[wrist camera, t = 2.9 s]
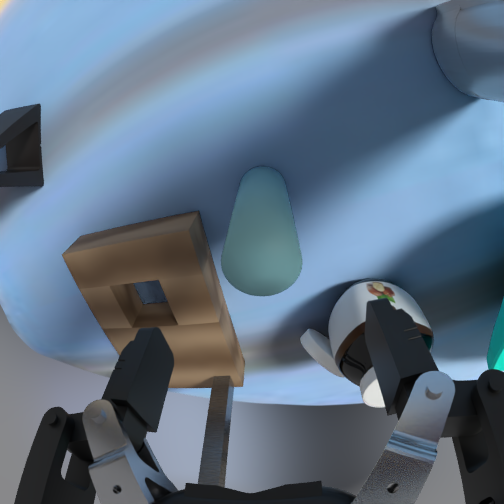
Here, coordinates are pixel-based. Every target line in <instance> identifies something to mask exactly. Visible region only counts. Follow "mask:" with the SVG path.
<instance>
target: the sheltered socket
mask: <svg viewBox="0 0 504 504" xmlns="http://www.w3.org/2000/svg"><path fill="white" fill-rule="evenodd" d="M62 256H63V258H64V260H65V262H66V264H67V266H68V268H69V270H70V272H71V274H72V276H73V278H74V280H75V282H76V284H77V286H78V288H79V290H80V292H81V293H82V295H83V297H84V299H85V301H86V302H87V304H88V306H89V308H90V309H91V311H92V313H93V314H94V316H95V318H96V319H97V321H98V323H99V324H100V326H101V328H102V329H103V331H104V332H105V334H106V336H107V337H108V339H109V340H110V342H111V343H112V345H113V346H114V348H115V349H116V351H117V352H118V354H119V355H120V354H121V352H122V350H123V349H124V348H125V346H126V345H127V344H128V343H129V342H130V341H134V339H135V336H136V334H137V332H138V330H139V329H140V328H149V327H158V328H159V329H160V330H161V332H162V334H163V335H164V337H165V339H166V341H167V343H168V345H169V347H170V349H171V350H172V352H173V356H174V368H173V371H172V375H171V379H170V382H169V386H168V388H212V390H211V396H210V404H209V410H208V416H207V423H206V430H205V437H204V443H203V451H202V458H201V465H200V472H199V479H198V484H204V485H217V486H221V487H225V476H226V465H227V454H228V443H229V433H230V422H231V412H232V401H233V391H234V387H242V386H243V381H244V367H245V361H244V358H243V355H242V352H241V349H240V346H239V343H238V340H237V336H236V333H235V330H234V327H233V324H232V321H231V318H230V315H229V312H228V308H227V305H226V302H225V299H224V296H223V292H222V289H221V286H220V282H219V279H218V276H217V273H216V269H215V266H214V262H213V259H212V256H211V252H210V249H209V245H208V242H207V238H206V235H205V231H204V228H203V224H202V221H201V217H200V214H199V211H195V212H190V213H184V214H179V215H174V216H169V217H164V218H159V219H154V220H149V221H145V222H140V223H135V224H131V225H126V226H122V227H117V228H113V229H108V230H104V231H100V232H95V233H91V234H87V235H83V236H80V237H79V238H78V239H77V240H76V241H75V242H74V243H73V244H72V245H71V246H70V247H69V248H68V249H67V250H66V251H65V252H64V253H63V254H62ZM154 280H159V282H160V284H161V287H162V289H163V291H164V294H165V296H166V298H167V301H168V302H162V303H151V304H143V303H142V301H141V299H140V297H139V295H138V293H137V290H136V288H135V286H134V284H133V283H137V282H146V281H154ZM146 434H147V431H146ZM146 434H145V437H144V438H146Z"/></svg>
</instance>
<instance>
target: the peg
mask: <svg viewBox="0 0 504 504" xmlns="http://www.w3.org/2000/svg"><path fill="white" fill-rule="evenodd" d="M221 266H222V271H223V273H224V275H225V277H226V279H227V280H228V281H229V283H230V284H231V285H232V286H234V287H235V288H236V289H238V290H239V291H241V292H244V293H246V294H249V295H254V296H270V295H274V294H278V293H280V292H282V291H284V290H286V289H287V288H289V287H290V286H291V285H292V284H293V283H294V282H295V281H296V280H297V278H298V276H299V274H300V272H301V269H302V255H301V250H300V246H299V241H298V236H297V232H296V227H295V223H294V218H293V214H292V209H291V205H290V201H289V196H288V192H287V188H286V184H285V181H284V178H283V177H282V175H281V174H280V173H279V172H278V171H276V170H275V169H273V168H270V167H266V166H260V167H255V168H252V169H251V170H249V171H248V172H246V173H245V175H244V176H243V177H242V179H241V182H240V185H239V189H238V193H237V197H236V201H235V204H234V208H233V212H232V216H231V220H230V224H229V228H228V232H227V236H226V240H225V244H224V248H223V252H222V257H221Z"/></svg>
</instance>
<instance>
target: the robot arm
mask: <svg viewBox="0 0 504 504" xmlns="http://www.w3.org/2000/svg"><path fill="white" fill-rule="evenodd" d="M436 9H437V18H436V20H435V22H434V24H433V28H432V44H433V50H434V53H435V56H436V59H437V61H438V63H439V65H440V68H441V70H442V71H443V73H444V74H445V76H446V77H447V79H448V80H449V81H450V82H451V83H452V84H453V85H454V86H455V87H456V88H457V89H458V90H460V91H461V92H463V93H465V94H466V95H469V96H472V97H477V98H481V99H486V100H494V101H499V102H504V0H451V1H448V2H445V3H442V4H439V5H437V6H436ZM365 340H366V345H367V348H368V351H369V354H370V358H371V361H372V364H373V367H374V370H375V373H376V377H377V380H378V383H379V387H380V390H381V393H382V397H383V400H384V404H385V408H386V411H387V415H392V414H396V413H397V417H398V420H399V422H398V424H397V426H396V428H395V430H394V432H393V434H392V436H391V438H390V440H389V442H388V444H387V446H386V447H385V450H384V451H383V453H382V455H381V457H380V458H379V460H378V462H377V464H376V465H375V467H374V469H373V471H372V472H371V474H370V476H369V477H368V479H367V480H366V482H365V484H364V485H363V487H362V488H361V490H360V491H359V493H358V494H357V496H355V495H353V494H351V493H349V492H346V491H344V490H341V489H338V488H332V487H325V486H322V484H321V481H316V482H308V483H298V484H287V485H283V486H280V487H276V488H272V489H268V490H265V491H261V492H257V493H244V492H240V491H236V490H232V489H228V488H225V487H221V486H217V485H204V484H192V483H186V487H185V489H184V490H180V491H178V490H177V488H176V487H175V486H174V484H173V483H172V482H171V481H170V480H169V479H168V478H167V476H166V475H165V474H164V472H163V470H162V469H161V467H160V465H159V463H158V461H157V459H156V457H155V456H154V454H153V452H152V450H151V448H150V446H149V444H148V442H147V440H146V439H145V438H144V437H145V434H146V431H147V432H157V428H158V424H159V420H160V416H161V413H162V409H163V405H164V401H165V397H166V394H167V390H168V386H169V382H170V379H171V375H172V371H173V368H174V356H173V352H172V350H171V349H170V347H169V345H168V343H167V341H166V339H165V337H164V335H163V334H162V332H161V330H160V329H159V328H158V327H149V328H140V329H139V330H138V332H137V334H136V336H135V339H134V341H130V342H129V343H128V344H127V345H126V346H125V348H124V349H123V350H122V352H121V354H120V357H119V359H118V362H117V363H116V366H115V370H113V373H112V375H111V377H110V380H109V382H108V385H107V387H106V389H105V392H104V394H103V397H102V399H101V400H96V401H93V402H92V403H90V404H89V405H88V406H87V407H86V409H85V410H84V412H82V413H76V414H68V413H67V412H66V411H65V410H64V409H63V408H61V407H54V408H51V409H49V410H48V411H47V412H46V413H45V414H44V416H43V418H42V421H41V423H40V426H39V428H38V431H37V433H36V436H35V439H34V441H33V444H32V447H31V450H30V453H29V456H28V458H27V461H26V464H25V468H24V471H23V474H22V477H21V481H20V484H19V488H18V491H17V495H16V499H15V503H14V504H94V500H95V494H96V493H97V495H98V498H99V500H100V503H101V504H414V503H415V501H416V500H417V498H418V496H419V494H420V492H421V490H422V488H423V486H424V484H425V482H426V480H427V477H428V475H429V473H430V471H431V469H432V466H433V464H434V462H435V459H436V456H437V451H436V448H437V445H438V442H439V439H440V438H441V437H452V439H453V443H454V448H455V451H456V456H457V460H458V464H459V469H460V473H461V479H462V483H463V489H464V495H465V502H466V504H504V372H502V371H500V370H497V369H490V370H487V371H485V372H483V373H482V374H481V375H480V377H479V379H478V380H467V381H456V380H452V379H451V378H450V377H449V376H448V375H447V374H445V373H443V372H440V371H439V370H438V368H437V366H436V364H435V362H434V360H433V358H432V356H431V354H430V352H429V350H428V348H427V346H426V344H425V342H424V340H423V338H422V337H421V334H420V332H419V330H418V329H417V326H416V324H415V322H414V320H413V318H412V317H411V316H410V315H409V314H408V313H407V312H405V311H404V310H403V309H402V308H401V309H397V310H394V309H393V307H392V305H391V303H390V301H389V300H388V298H381V299H376V300H371V301H368V302H367V306H366V320H365ZM67 450H68V451H69V452H70V453H72V456H71V459H70V462H69V466H68V469H67V473H66V477H65V480H64V479H63V478H62V475H61V468H62V464H63V461H64V458H65V454H66V451H67Z"/></svg>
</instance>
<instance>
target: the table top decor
mask: <svg viewBox="0 0 504 504" xmlns="http://www.w3.org/2000/svg"><path fill="white" fill-rule="evenodd" d="M487 363H488V369H489V370H490V369H497V370H501V371H504V298H503V301H502V304H501V308H500V311H499V314H498V317H497V320H496V323H495V325H494V329H493V333H492V336H491V340H490V345H489V349H488V354H487Z"/></svg>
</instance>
